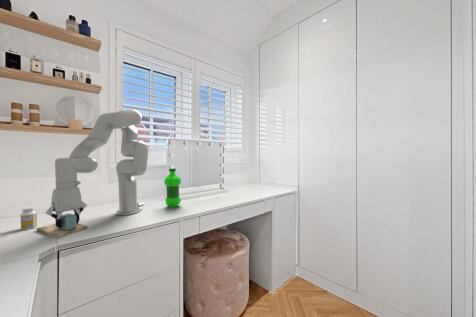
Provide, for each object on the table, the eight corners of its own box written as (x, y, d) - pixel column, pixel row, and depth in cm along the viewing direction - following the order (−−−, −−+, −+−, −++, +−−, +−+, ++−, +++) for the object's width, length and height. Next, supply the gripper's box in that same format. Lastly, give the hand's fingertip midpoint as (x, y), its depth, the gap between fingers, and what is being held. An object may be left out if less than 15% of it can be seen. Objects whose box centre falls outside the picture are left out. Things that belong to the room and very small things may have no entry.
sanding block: (58, 228, 95) (58, 215, 95) (69, 225, 98) (68, 213, 98) (66, 231, 91) (65, 217, 91) (76, 228, 95) (76, 215, 95)
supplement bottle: (29, 226, 103) (28, 206, 102) (40, 226, 102) (39, 206, 102) (17, 230, 97) (16, 209, 97) (28, 230, 97) (28, 209, 97)
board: (67, 222, 106) (67, 220, 106) (87, 228, 98) (87, 225, 98) (36, 230, 96) (36, 228, 96) (55, 237, 87) (55, 234, 87)
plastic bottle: (161, 208, 134) (160, 169, 133) (170, 204, 144) (169, 167, 143) (175, 208, 131) (174, 169, 131) (184, 204, 141) (183, 167, 141)
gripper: (83, 182, 103) (84, 218, 104) (38, 187, 88) (39, 230, 89) (92, 183, 100) (93, 220, 100) (46, 188, 85) (47, 233, 85)
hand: (68, 224), depth 94 cm, fingers open, 5 cm apart
